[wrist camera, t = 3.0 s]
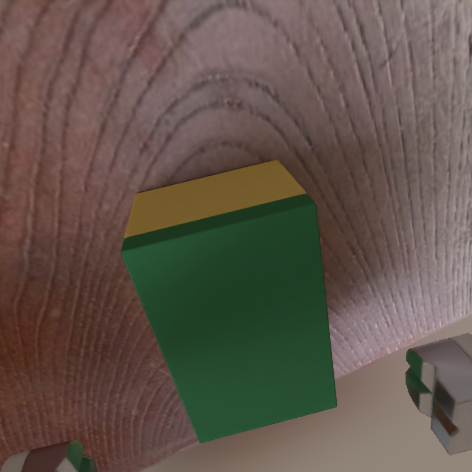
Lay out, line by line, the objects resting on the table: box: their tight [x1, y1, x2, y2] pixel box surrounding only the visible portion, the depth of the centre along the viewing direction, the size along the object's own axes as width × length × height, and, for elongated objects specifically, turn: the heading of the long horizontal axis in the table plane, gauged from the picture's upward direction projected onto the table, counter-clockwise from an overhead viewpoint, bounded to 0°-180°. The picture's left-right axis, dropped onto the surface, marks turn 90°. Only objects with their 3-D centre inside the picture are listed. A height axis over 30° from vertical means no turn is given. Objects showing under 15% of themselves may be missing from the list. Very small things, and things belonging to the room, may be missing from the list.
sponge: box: [121, 160, 337, 443], centre depth 13 cm, size 8×5×4 cm, turn 11°
